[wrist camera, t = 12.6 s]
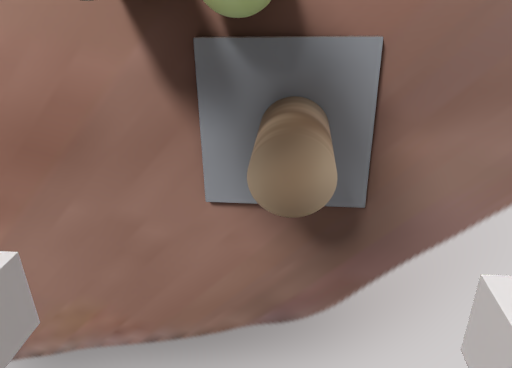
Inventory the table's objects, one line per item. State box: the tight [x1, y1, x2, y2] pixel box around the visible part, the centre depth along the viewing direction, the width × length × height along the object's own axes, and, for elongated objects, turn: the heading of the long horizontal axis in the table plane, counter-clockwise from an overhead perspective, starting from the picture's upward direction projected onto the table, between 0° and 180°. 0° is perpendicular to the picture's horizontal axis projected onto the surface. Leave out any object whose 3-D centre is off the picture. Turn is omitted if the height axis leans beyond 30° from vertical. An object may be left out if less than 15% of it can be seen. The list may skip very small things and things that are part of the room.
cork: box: [247, 96, 337, 218], centre depth 24 cm, size 4×4×7 cm
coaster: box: [193, 36, 383, 208], centre depth 27 cm, size 11×11×1 cm
